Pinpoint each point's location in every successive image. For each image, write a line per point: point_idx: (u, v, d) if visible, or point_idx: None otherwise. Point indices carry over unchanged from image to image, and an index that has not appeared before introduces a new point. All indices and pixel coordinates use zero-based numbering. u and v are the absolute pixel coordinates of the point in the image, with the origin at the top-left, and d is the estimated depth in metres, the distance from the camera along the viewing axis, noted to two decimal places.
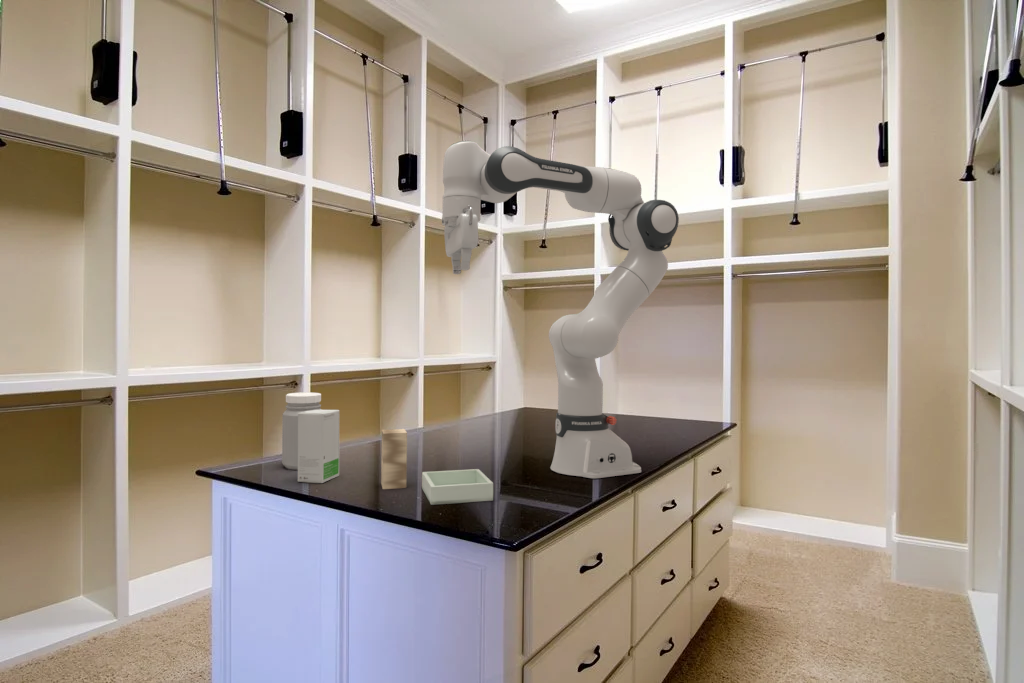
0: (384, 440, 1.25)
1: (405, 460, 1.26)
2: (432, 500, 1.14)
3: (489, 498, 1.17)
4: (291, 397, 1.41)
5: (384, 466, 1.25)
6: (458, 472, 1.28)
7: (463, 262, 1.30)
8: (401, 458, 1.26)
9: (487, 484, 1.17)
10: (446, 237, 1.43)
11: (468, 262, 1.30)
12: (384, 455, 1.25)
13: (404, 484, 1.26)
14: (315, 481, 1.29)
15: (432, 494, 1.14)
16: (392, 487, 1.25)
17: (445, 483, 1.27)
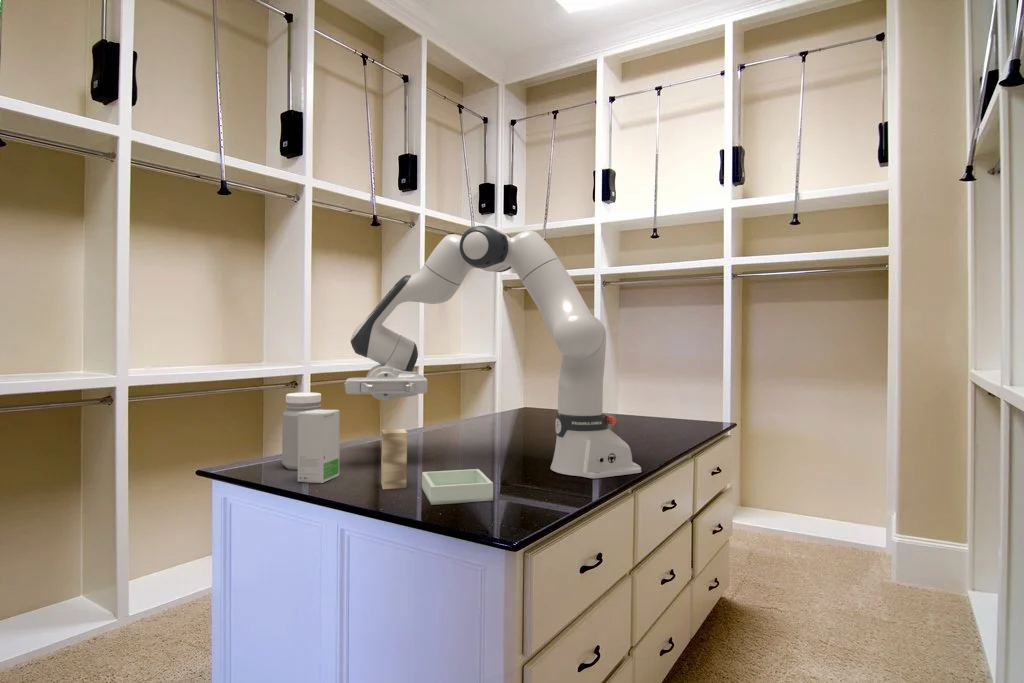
0: (384, 440, 1.25)
1: (405, 460, 1.26)
2: (432, 500, 1.14)
3: (489, 498, 1.17)
4: (291, 397, 1.41)
5: (384, 466, 1.25)
6: (458, 472, 1.28)
7: (365, 390, 1.40)
8: (401, 458, 1.26)
9: (487, 484, 1.17)
10: (417, 392, 1.51)
11: (365, 385, 1.40)
12: (384, 455, 1.25)
13: (404, 484, 1.26)
14: (315, 481, 1.29)
15: (432, 494, 1.14)
16: (392, 487, 1.25)
17: (445, 483, 1.27)
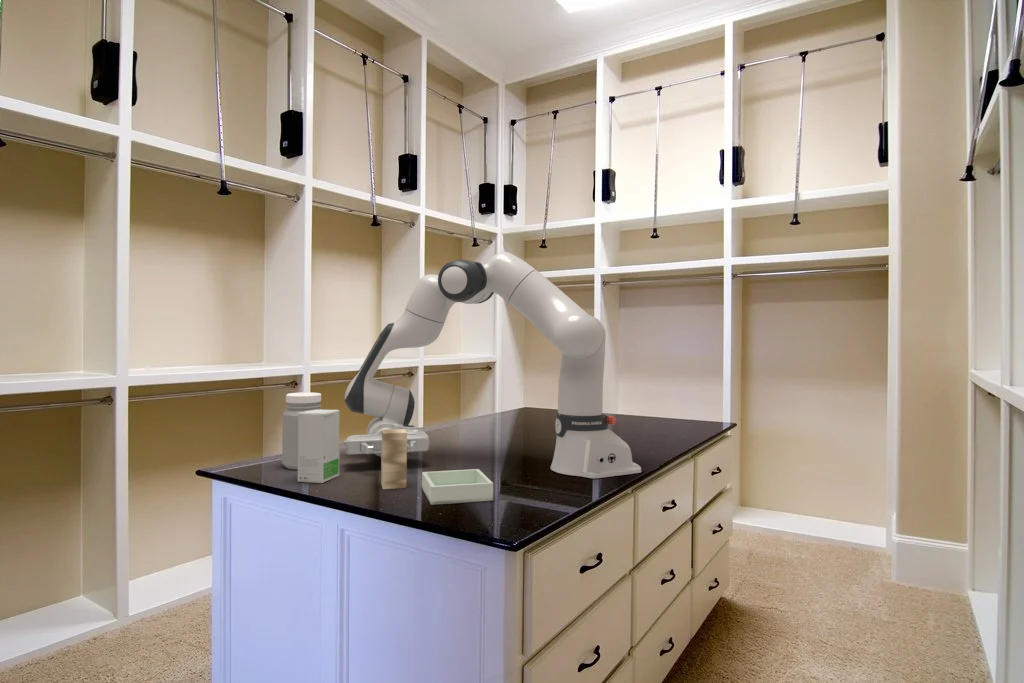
0: (384, 440, 1.25)
1: (405, 460, 1.26)
2: (432, 500, 1.14)
3: (489, 498, 1.17)
4: (291, 397, 1.41)
5: (384, 466, 1.25)
6: (458, 472, 1.28)
7: (366, 451, 1.38)
8: (401, 458, 1.26)
9: (487, 484, 1.17)
10: None
11: (365, 446, 1.38)
12: (384, 455, 1.25)
13: (404, 484, 1.26)
14: (315, 481, 1.29)
15: (432, 494, 1.14)
16: (392, 487, 1.25)
17: (445, 483, 1.27)
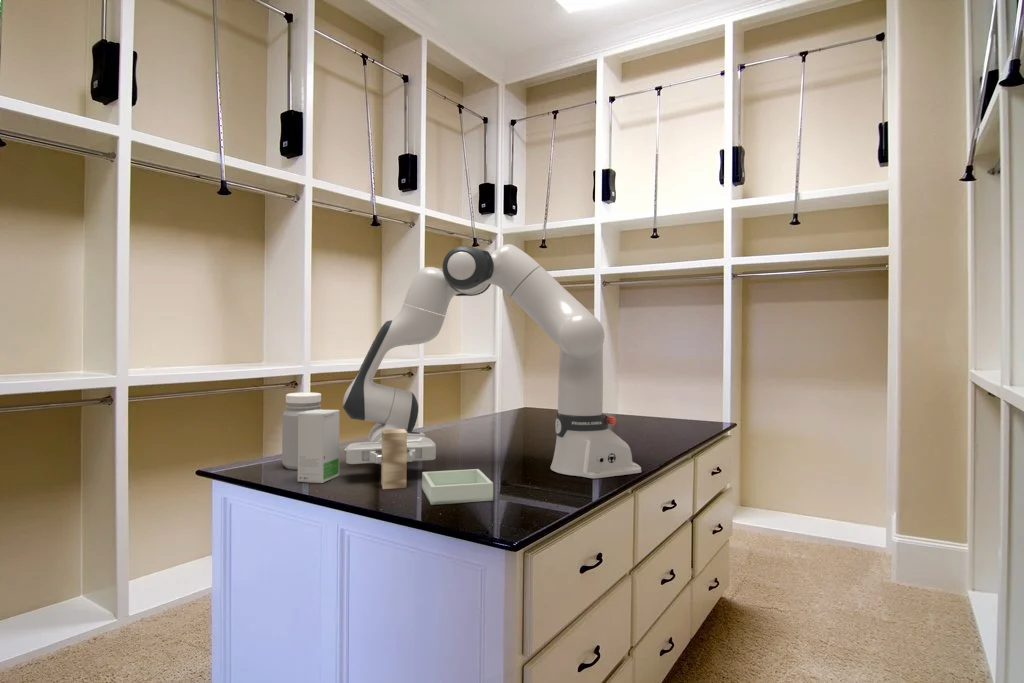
0: (384, 440, 1.25)
1: (405, 460, 1.26)
2: (432, 500, 1.14)
3: (489, 498, 1.17)
4: (291, 397, 1.41)
5: (384, 466, 1.25)
6: (458, 472, 1.28)
7: (375, 460, 1.27)
8: (401, 458, 1.26)
9: (487, 484, 1.17)
10: None
11: (375, 455, 1.27)
12: (384, 455, 1.25)
13: (404, 484, 1.26)
14: (315, 481, 1.29)
15: (432, 494, 1.14)
16: (392, 487, 1.25)
17: (445, 483, 1.27)
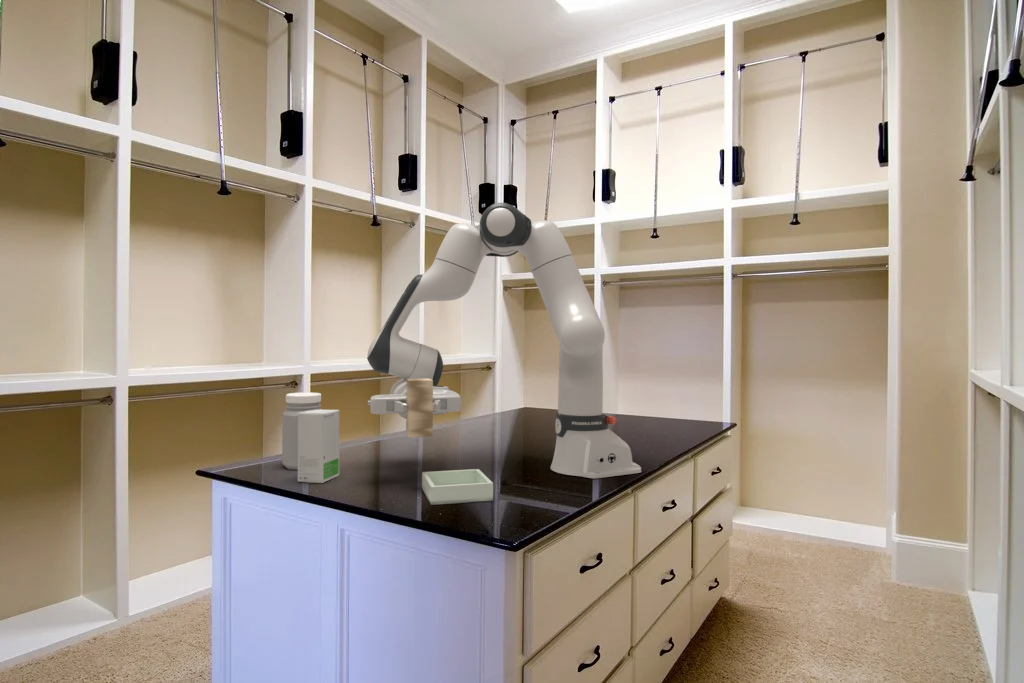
0: (410, 387, 1.22)
1: (431, 408, 1.24)
2: (432, 500, 1.14)
3: (489, 498, 1.17)
4: (291, 397, 1.41)
5: (410, 414, 1.22)
6: (458, 472, 1.28)
7: (400, 409, 1.25)
8: (427, 406, 1.23)
9: (487, 484, 1.17)
10: None
11: (400, 404, 1.25)
12: (410, 403, 1.22)
13: (430, 433, 1.24)
14: (315, 481, 1.29)
15: (432, 494, 1.14)
16: (418, 435, 1.23)
17: (445, 483, 1.27)
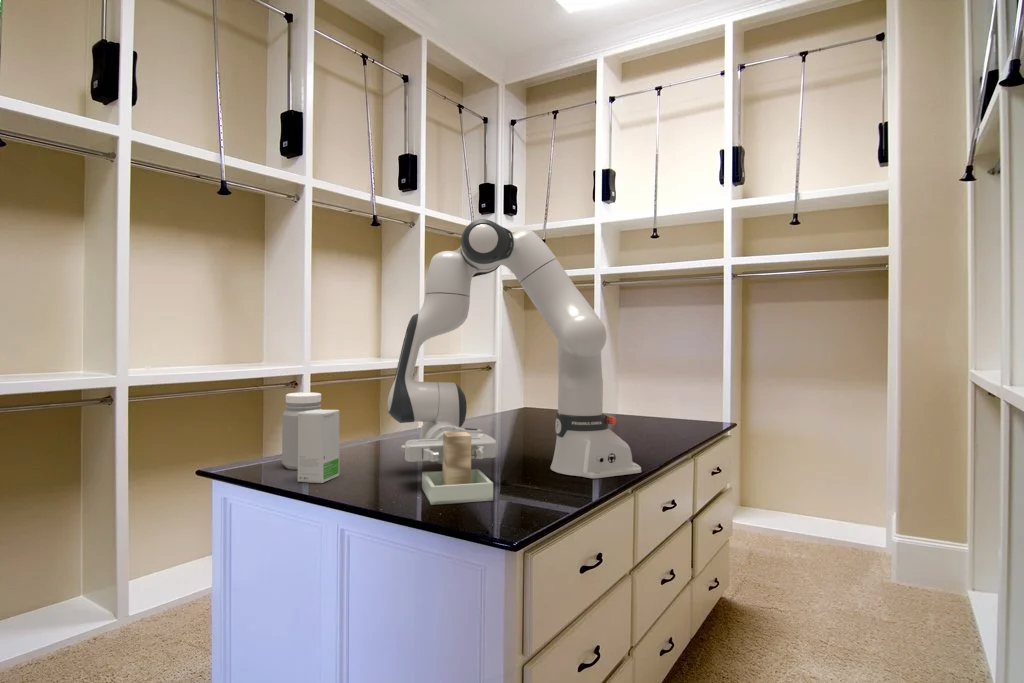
0: (448, 444, 1.19)
1: (469, 464, 1.20)
2: (432, 500, 1.14)
3: (489, 498, 1.17)
4: (291, 397, 1.41)
5: (448, 471, 1.19)
6: None
7: (430, 458, 1.21)
8: (465, 462, 1.20)
9: (487, 484, 1.17)
10: None
11: (430, 453, 1.21)
12: (448, 459, 1.19)
13: None
14: (315, 481, 1.29)
15: (432, 494, 1.14)
16: None
17: None
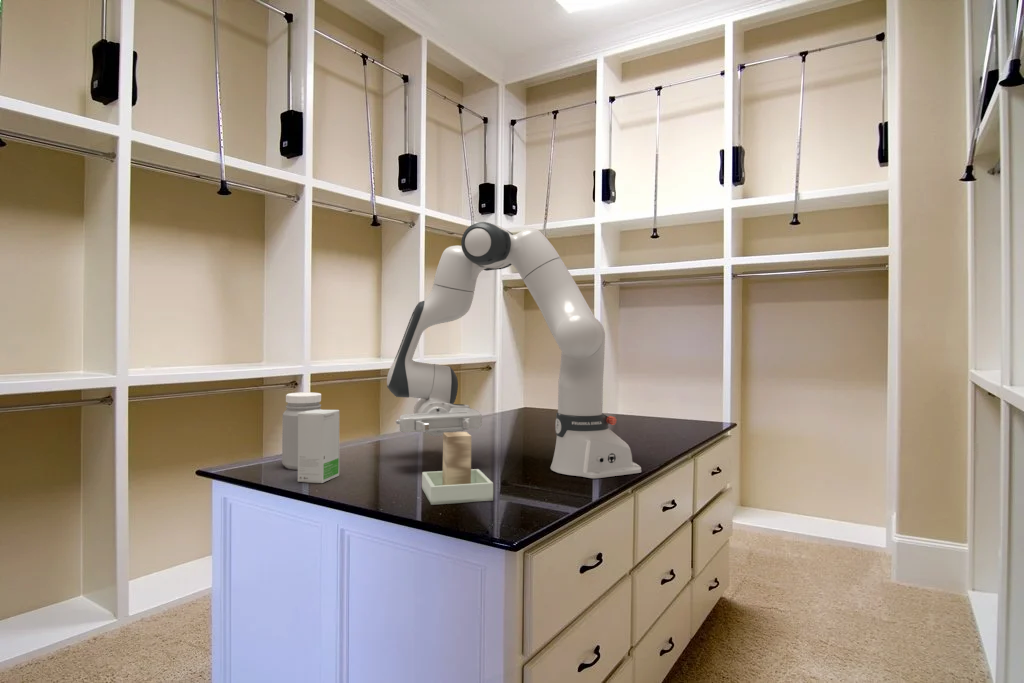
0: (448, 444, 1.19)
1: (469, 464, 1.20)
2: (432, 500, 1.14)
3: (489, 498, 1.17)
4: (291, 397, 1.41)
5: (448, 471, 1.19)
6: None
7: (421, 428, 1.36)
8: (465, 462, 1.20)
9: (487, 484, 1.17)
10: None
11: (421, 424, 1.36)
12: (448, 459, 1.19)
13: None
14: (315, 481, 1.29)
15: (432, 494, 1.14)
16: None
17: None
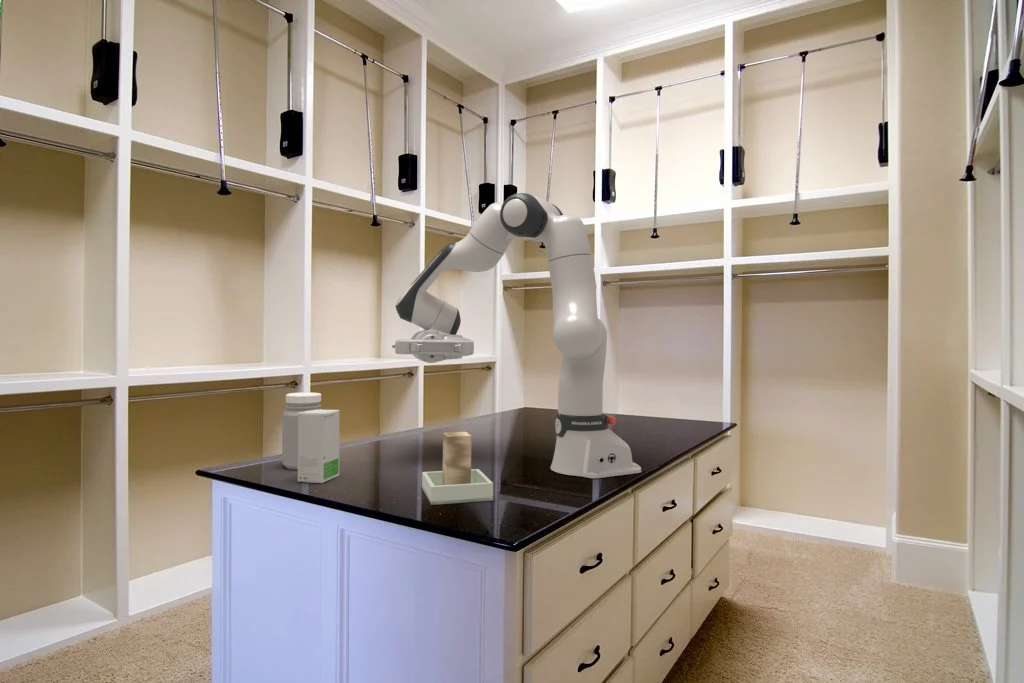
0: (448, 444, 1.19)
1: (469, 464, 1.20)
2: (432, 500, 1.14)
3: (489, 498, 1.17)
4: (291, 397, 1.41)
5: (448, 471, 1.19)
6: None
7: (415, 349, 1.44)
8: (465, 462, 1.20)
9: (487, 484, 1.17)
10: (463, 354, 1.55)
11: (415, 345, 1.44)
12: (448, 459, 1.19)
13: None
14: (315, 481, 1.29)
15: (432, 494, 1.14)
16: None
17: None
